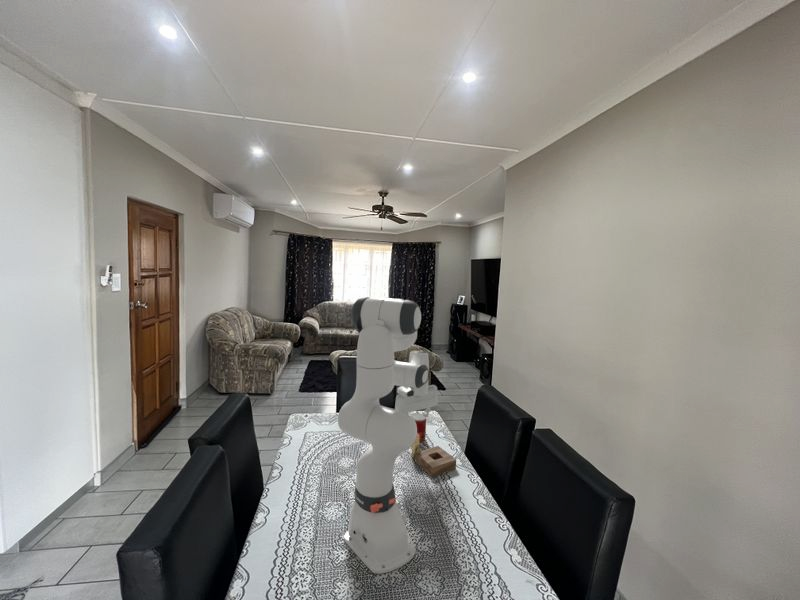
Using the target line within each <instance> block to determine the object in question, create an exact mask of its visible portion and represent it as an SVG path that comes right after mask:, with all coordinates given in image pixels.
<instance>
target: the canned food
mask: <svg viewBox="0 0 800 600" xmlns="http://www.w3.org/2000/svg"><path fill="white" fill-rule="evenodd" d="M409 416H411V417H413V418H414V420H415V422H416V425H417V433H418V434H419V443H422V442H424V441H425V439H426V432H427V431H426V430H427V429H426V428H427V417H426V418H425V417H424V416H423V413H419V412H415V413H411V414H409Z"/></svg>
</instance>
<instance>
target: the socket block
mask: <svg viewBox="0 0 800 600" xmlns="http://www.w3.org/2000/svg"><path fill="white" fill-rule="evenodd" d="M414 460H415V461H414V462H415V463H416V464H417V465H418V466H419V467H420V468H421V469H423V470H424V471H425V473H427V474H428V475H429V476H430V477H431V478H434V477H437V476H440V475H443V474H446V473H448V472H450V471H453V470H456V469H457V458H455V457H454V456H452V455H451V454H450V453H449V452H447V451H446V450H444V449H443V448H441V446H439V445H436V446H433V447H430V448H427V449H424V450H421V451H420V450H419V452H416V454H415V459H414Z"/></svg>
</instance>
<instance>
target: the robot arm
mask: <svg viewBox="0 0 800 600" xmlns="http://www.w3.org/2000/svg"><path fill="white" fill-rule="evenodd" d="M351 307H352V308H351V311H350V312H351V313H350V319H351V323H352V325H353V326H354V328H355V329H356V331H357V333H358V340H357V348H356V380H355V381H356V383H355V385H356V386H355V390H354V393H353V395H352V397H351V398H350V399H349V400H348V401H346V402H345V403H344V404H343V405H342V406H341V408H340V409H339V412H338V414H337V424H338V428H339V430H340V431H342V432H344V433H345V434H346V435H348V436H350V437H351V438H353V439H356V440H360V441H362V442H366V443H367V444H368V443H369V444H370V445H371V446H372V447H371V448H372V449H370V450H368V451H366V452H364V453H363V454H361V455H360V457H359V458H358V460H357V462H356V483H354V484H355V486H354V490H353V491H354V492H353V493H354V496H353V497H354V501H353V504H352V506H351V509H350V511H349V519H348V530H347V531H346V532H345V534H344V535H343V536H344V538H343V540H344V542H345V543H346V545H347V546H348V547H349V548H350V549H351V550H352V552H354V553H355V555H356V556H357V557H358V558H359V559H360V560H361V562H363V564H364V565H365V566H366V567H367V568H368V570H370V571H371V572H372V573H373V574H385V573H386V574H387V573H390V572H392V571H395V570H397V569H399V568H401V567H403V566H405V565H406V564H407V563H409V562H410V561H411V560H412V559H413V558H414V557H415V555H416V552H417V550H416V546H415V545H414V542H413V540H412V538H411V536H410V534H409V532H408V528H407V526H406V524H408V517H407V515H406V514H402V513H401V510H400V508H401V506H400V503H397V499H398V498H397V497H396V489H395V485H394V481H393V480H394V470H395V463H396V461H397V458H398V456H400V455H401V454H402V453H404V452H406V451H408V450H409V449H410V448H412V445H413V443H414V442H415V439H416V436H417V425H416V422H415V420H414V418H413V417H411V416H410V414H409V413H411V412H417V411H420V410H424V411H423V413H422V414H423V416H424V417H425V418H426V419H427V418H429V414H430V411H431V410H432V409H431V408H432V407H436V406H437V405H438V404H439V396H438V395H439V394H438V387H437V385H436V384H431V385H429V376H430V375H429V373H430V360H429V354H428V352H426V351H424V350H411V351H410V352H409V357H408V362H407V361H406V362H405V361H400V360H396V359H395V353H396V352H403V351H406V350H407V349H409V348H411V347H412V346H413V345H414V344H415V343H416V341H417V339H418V330H419V329H420V328H419V327H420V325H421V323H422V322H421V321H422V312H421V307H420V306H419V304H418V303H417V302H415V301H413V300H410V299H409V300H408V299H402V298H391V297H361V298H358V299H356V301H355V302H354V303H353V305H352V306H351ZM395 386H397V389H396V393H397V395H396V397H395V403H394V404H395V405H394V408H392V407H388V406H384V405H381V403H380V399H381V398H384V397H386V396H387V395H389V394H391V392H392V390H394V388H395ZM398 386H399V387H398Z"/></svg>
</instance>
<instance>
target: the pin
mask: <svg viewBox="0 0 800 600" xmlns="http://www.w3.org/2000/svg"><path fill="white" fill-rule="evenodd" d="M416 452H420V442H419V434H418V433H417V436H416V439H415V442H414V443H413V445H412V446H411V459H413V460H415V454H416Z"/></svg>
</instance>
